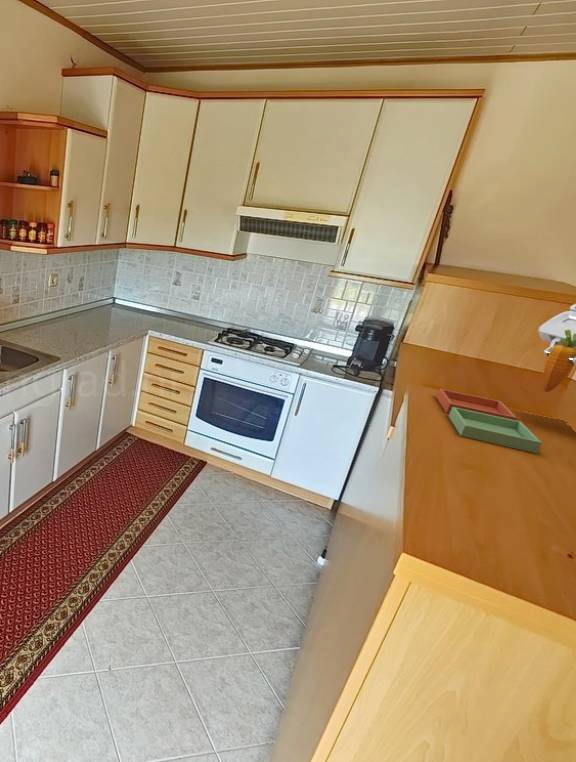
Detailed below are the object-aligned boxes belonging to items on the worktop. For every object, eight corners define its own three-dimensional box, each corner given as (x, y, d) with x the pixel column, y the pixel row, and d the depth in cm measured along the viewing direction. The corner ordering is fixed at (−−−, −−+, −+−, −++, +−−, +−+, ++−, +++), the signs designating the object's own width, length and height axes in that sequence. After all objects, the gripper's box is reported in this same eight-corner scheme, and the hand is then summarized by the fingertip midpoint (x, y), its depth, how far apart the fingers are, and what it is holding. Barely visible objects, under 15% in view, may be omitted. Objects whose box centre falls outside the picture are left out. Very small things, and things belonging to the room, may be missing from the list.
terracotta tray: (496, 410, 127) (500, 401, 126) (512, 427, 116) (517, 417, 115) (436, 397, 133) (439, 388, 132) (446, 412, 122) (450, 403, 121)
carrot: (564, 397, 114) (595, 335, 108) (538, 392, 115) (567, 331, 110) (553, 390, 118) (582, 330, 113) (528, 386, 119) (555, 327, 114)
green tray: (516, 431, 114) (521, 421, 113) (536, 453, 103) (542, 442, 102) (448, 416, 119) (452, 406, 118) (460, 435, 108) (465, 425, 107)
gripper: (677, 343, 102) (612, 383, 105) (576, 321, 121) (523, 355, 124) (669, 321, 100) (603, 362, 103) (568, 301, 119) (515, 337, 122)
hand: (559, 358), depth 114 cm, fingers closed on carrot, 4 cm apart
